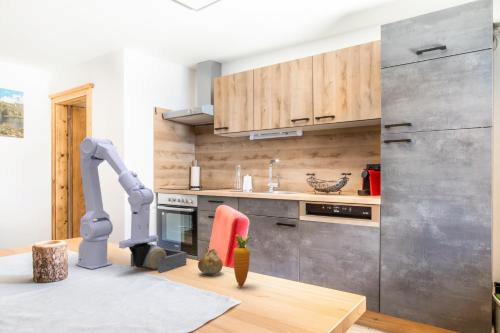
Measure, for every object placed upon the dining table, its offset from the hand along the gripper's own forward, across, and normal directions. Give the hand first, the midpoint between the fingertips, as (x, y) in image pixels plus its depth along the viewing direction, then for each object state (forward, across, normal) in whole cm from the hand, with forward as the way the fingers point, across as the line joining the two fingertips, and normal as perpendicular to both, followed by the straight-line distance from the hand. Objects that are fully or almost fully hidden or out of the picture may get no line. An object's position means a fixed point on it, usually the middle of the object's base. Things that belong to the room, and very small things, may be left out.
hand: (139, 266), depth 110 cm
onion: (+2, +10, -21) cm, 24 cm away
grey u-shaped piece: (+1, +8, 0) cm, 8 cm away
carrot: (+2, +5, -36) cm, 37 cm away
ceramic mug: (+2, +7, 0) cm, 7 cm away
